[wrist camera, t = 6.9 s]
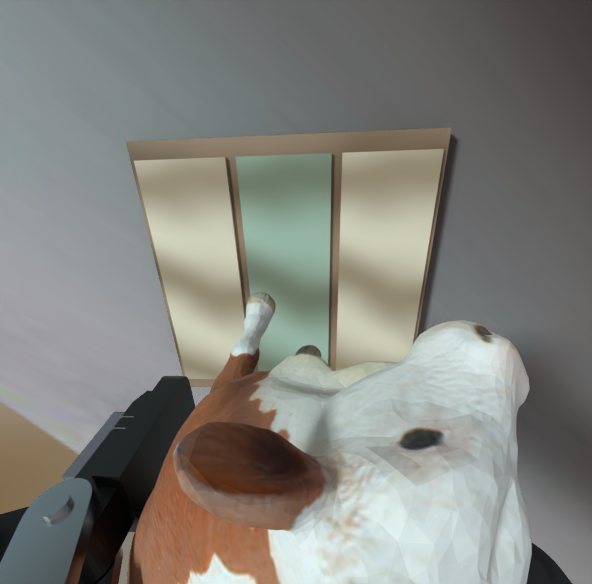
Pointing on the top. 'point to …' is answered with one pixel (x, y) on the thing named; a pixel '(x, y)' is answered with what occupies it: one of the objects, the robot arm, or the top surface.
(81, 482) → the robot arm
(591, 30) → the top surface
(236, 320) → the paneled room divider
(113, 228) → the top surface
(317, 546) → the bull figurine
